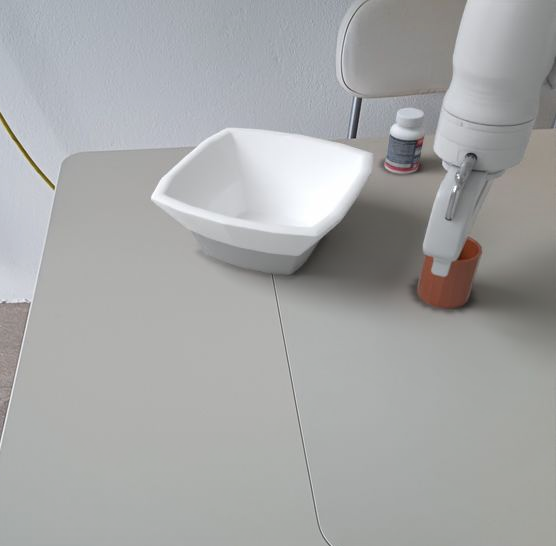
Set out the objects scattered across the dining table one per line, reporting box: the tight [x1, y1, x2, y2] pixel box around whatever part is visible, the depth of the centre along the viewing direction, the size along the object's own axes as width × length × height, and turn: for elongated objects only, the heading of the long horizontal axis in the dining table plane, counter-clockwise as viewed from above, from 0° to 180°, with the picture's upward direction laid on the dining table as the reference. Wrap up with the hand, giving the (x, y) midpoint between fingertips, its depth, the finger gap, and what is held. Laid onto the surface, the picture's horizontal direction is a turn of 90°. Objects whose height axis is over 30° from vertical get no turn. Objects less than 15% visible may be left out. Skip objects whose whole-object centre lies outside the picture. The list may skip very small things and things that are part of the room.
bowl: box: [150, 127, 375, 276], centre depth 86 cm, size 24×25×10 cm
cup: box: [416, 235, 483, 310], centre depth 77 cm, size 6×6×7 cm
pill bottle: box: [384, 107, 426, 175], centre depth 100 cm, size 5×5×9 cm
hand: (450, 250), depth 75 cm, fingers open, 8 cm apart
